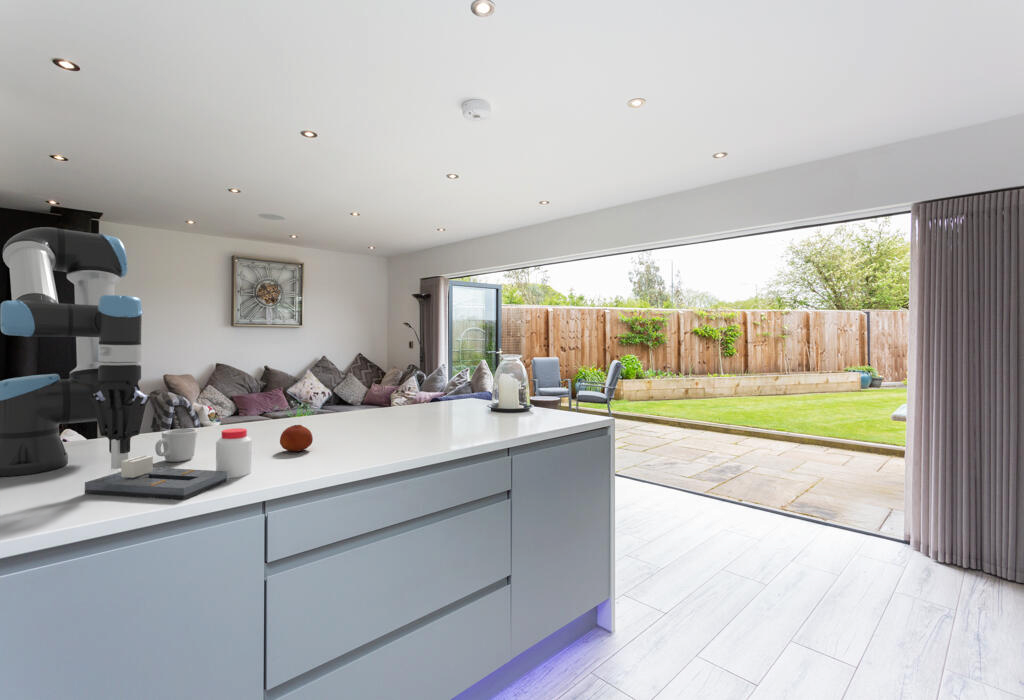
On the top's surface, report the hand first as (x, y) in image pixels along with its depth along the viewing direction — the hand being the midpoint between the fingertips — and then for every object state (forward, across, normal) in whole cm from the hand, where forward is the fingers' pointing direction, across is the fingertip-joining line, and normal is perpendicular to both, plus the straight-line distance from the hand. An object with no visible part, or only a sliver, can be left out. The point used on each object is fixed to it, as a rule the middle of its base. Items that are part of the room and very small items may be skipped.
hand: (119, 467), depth 108 cm
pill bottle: (+5, +18, +13) cm, 23 cm away
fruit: (+4, +20, +38) cm, 43 cm away
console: (+4, +10, 0) cm, 11 cm away
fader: (+3, +4, 0) cm, 5 cm away
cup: (+4, -5, +21) cm, 22 cm away
